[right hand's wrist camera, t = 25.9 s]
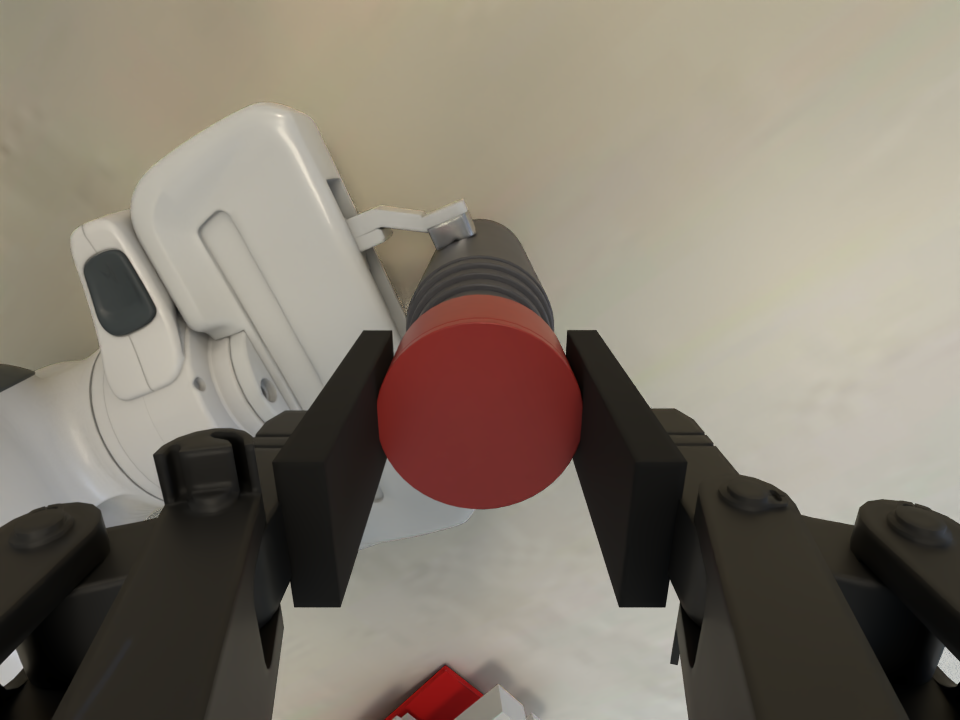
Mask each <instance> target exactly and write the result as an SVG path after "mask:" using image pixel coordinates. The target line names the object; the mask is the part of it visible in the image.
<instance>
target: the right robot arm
mask: <svg viewBox="0 0 960 720" xmlns="http://www.w3.org/2000/svg"><path fill="white" fill-rule="evenodd" d="M393 357H394V350H393V333H392V330H363V331H362V333H361V334H360V336H359V337H358V339H357V340H356V342H355V343H354V344H353V346H352V347H351V349H350V350H349V352H348V353H347V355H346V356H345V357H344V359H343V360H342V362H341V363H340V365H339V366H338V368H337V369H336V370H335V372H334V373H333V375H332V376H331V378H330V379H329V380H328V382H327V383H326V385H325V386H324V388H323V389H322V391H321V392H320V393H319V395H318V396H317V398H316V399H315V401H314V402H313V404H312V405H311V406H310V408H309V409H308V410H285V411H283V412H281V413H280V414H278V415H276V416H275V417H273V418H271V419H270V420H268V421H266V422H265V423H264V425H263V426H262V427H261V428H260V430H259V431H258V432H257V433H256V434H255V437H253V436H251V435H250V434H249V433H247V432H246V431H244V430H239V429H234V428H213V429H207V430H202V431H196V432H193V433H190V434H187V435H184V436H181V437H178V438H176V439H174V440H172V441H170V442H168V443H166V444H164V445H163V446H161V447H160V448H159V449H158V450H157V451H156V452H155V453H154V454H153V458H154V462H155V466H156V471H157V475H158V479H159V483H160V487H161V491H162V495H163V500H164V504H165V505H164V507H163V509H162V511H161V513H160V515H159V517H158V518H154V519H150V520H145V521H140V522H135V523H129V524H124V525H119V526H114V527H108V528H106V527H105V523H104V520H103V516H102V513H101V510H100V509H99V508H97V507H96V506H95V505H93V504H89V503H82V502H72V503H62V504H61V503H57V504H52V505H48V507H45V506H44V507H40V508H37V509H34V510H32V511H30V512H29V513H27V514H25V515H22V516H20V517H17V518H15V519H13V520H11V521H10V522H8V523H6V524H5V525H3V526H1V527H0V665H1V664H2V663H3V662H4V661H5V660H6V659H7V658H8V657H9V656H10V655H11V654H12V652H13V651H14V650H15V649H16V651H17V654H18V656H19V659H20V661H21V664H22V666H23V669H22V670H21V671H20V672H19V673H18V674H17V675H16V677H15V678H14V679H13V680H11V681H10V682H9V683H7V684H6V685H5V686H4V687H3V686H2V685H1V684H0V720H272V713H273V705H274V698H275V690H276V683H277V675H278V667H279V660H280V652H281V645H282V637H283V630H284V625H283V618H282V612H281V606H280V602H281V600H282V598H283V596H284V593H285V591H286V589H287V587H288V585H289V582H290V583H291V589H292V596H293V602H294V607H341V604H342V601H343V598H344V595H345V591H346V588H347V585H348V582H349V579H350V575H351V572H352V569H353V566H354V563H355V559H356V556H357V553H358V550H359V547H360V543H361V540H362V537H363V534H364V531H365V527H366V524H367V521H368V518H369V515H370V511H371V508H372V505H373V502H374V499H375V495H376V492H377V489H378V486H379V483H380V479H381V476H382V473H383V470H384V467H385V463H386V460H387V456H386V455H385V453H384V451H383V448H382V446H381V443H380V440H379V427H378V414H377V399H378V394H379V390H380V387H381V385H382V382H383V380H384V378H385V375H386V373H387V371H388V368H389V366H390V364H391V362H392V360H393ZM566 358H567V360H568V362H569V364H570V367H571V369H572V371H573V373H574V376H575V378H576V380H577V383H578V386H579V388H580V391H581V395H582V400H583V409H582V423H581V436H580V442H579V445H578V447H577V450H576V452H575V454H574V456H573V461H574V464H575V468H576V471H577V474H578V477H579V480H580V484H581V487H582V490H583V493H584V496H585V500H586V503H587V506H588V509H589V512H590V516H591V519H592V522H593V525H594V528H595V532H596V535H597V538H598V541H599V545H600V548H601V551H602V554H603V557H604V561H605V564H606V567H607V570H608V573H609V577H610V580H611V583H612V586H613V589H614V593H615V596H616V599H617V602H618V605H619V607H666V600H667V594H668V587H669V581H670V580H671V583H672V585H673V587H674V589H675V591H676V594H677V596H678V598H679V600H680V606H679V612H678V618H677V624H676V630H675V636H674V642H673V648H672V654H671V662H670V664H675V665H678V660H679V655H680V659H681V666H682V674H683V681H684V689H685V696H686V704H687V711H688V719H689V720H960V682H959V683H958V684H955V683H954V682H953V681H952V680H951V679H950V678H948V677H947V676H946V675H945V674H944V673H943V671H942V670H941V669H940V668H939V667H938V666H937V665H938V662H939V660H940V657H941V655H942V652H943V650H944V647H946V648H947V649H948V650H949V651H950V652H951V653H952V654H953V655H954V656H955V657H956V658H957V659H958V660H959V661H960V524H959V523H957V522H955V521H954V520H952V519H950V518H949V517H947V516H945V515H942V514H940V513H938V512H935V511H933V510H931V509H930V508H928V507H926V506H922V505H919V504H916V503H915V504H913V503H912V502H907V501H894V500H884V499H881V500H874V501H868V502H866V503H865V504H864V505H862V506H861V507H860V508H859V511H858V515H857V518H856V522H855V525H849V524H844V523H838V522H833V521H828V520H822V519H817V518H812V517H808V516H804V515H801V514H800V512H799V510H798V508H797V506H796V504H795V503H794V502H793V501H792V500H791V498H790V497H789V496H788V495H787V494H786V493H784V492H783V491H781V490H780V489H778V488H777V487H775V486H773V485H772V484H769V483H767V482H764V481H761V480H759V479H756V478H753V477H748V476H743V475H739V473H738V472H737V471H736V470H735V469H734V467H733V466H732V465H731V464H730V463H729V461H728V460H727V459H726V458H725V457H724V455H723V454H722V453H721V452H720V451H719V449H718V448H717V447H716V446H714V445H713V442H712V441H711V440H710V439H709V437H708V436H707V435H705V434H704V431H703V430H702V429H701V428H700V427H699V425H698V424H697V423H696V422H695V421H694V419H692V418H690V417H688V416H687V415H685V414H683V413H682V412H680V411H678V410H676V409H651V408H650V407H649V406H648V404H647V403H646V401H645V400H644V398H643V397H642V395H641V394H640V393H639V391H638V390H637V388H636V387H635V385H634V384H633V382H632V381H631V380H630V378H629V377H628V375H627V374H626V372H625V371H624V369H623V368H622V367H621V365H620V364H619V362H618V361H617V359H616V358H615V356H614V355H613V354H612V352H611V351H610V349H609V348H608V346H607V345H606V343H605V342H604V341H603V339H602V338H601V336H600V335H599V333H598V332H597V330H567V345H566Z"/></svg>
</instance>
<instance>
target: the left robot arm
mask: <svg viewBox="0 0 960 720" xmlns="http://www.w3.org/2000/svg"><path fill="white" fill-rule="evenodd" d="M391 228H393V229H401V230H409V231H417V232H425V233H428V232H429V234H430V236H431V238H432V241H433V243H434V245H435V247H436V249H437V250H440V249H442V248H444V247H447V246H449V245H450V244H452V243H453V241H454V240H455V239H457V240H462V239H466V238H468V237H471V236H473V235H474V234H476V228H475V226H474V223H473V221H472V218H471V215H470V213H469V210H468V208H467V205H466V203H465V200H464V198H463V199H460V200H457V201H455V202H453V203H450V204H448V205H446V206H443V207H441V208H439V209H436V210H434V211H432V212H429V213H427V214H426V212H425V211H421V210H414V209H406V208H399V207H392V206H385V205H380V206H377V207H375V208H373V209H370V210H368V211H366V212H363V213H361V214H358V212H357V210H356V208H355V206H354V203H353V201H352V199H351V197H350V195H349V193H348V191H347V189H346V187H345V184H344V182H343V180H342V178H341V176H340V174H339V172H338V170H337V167H336V165H335V163H334V161H333V159H332V157H331V155H330V153H329V151H328V148H327V146H326V144H325V142H324V140H323V138H322V136H321V133H320V131H319V129H318V127H317V125H316V123H315V121H314V120H313V119H312V118H311V117H310V116H309V115H307V114H305V113H303V112H300V111H298V110H296V109H294V108H291V107H289V106H286V105H283V104H279V103H274V102H259V103H254V104H251V105H248V106H246V107H244V108H242V109H240V110H238V111H236V112H234V113H232V114H230V115H228V116H226V117H225V118H223V119H221V120H219V121H217V122H216V123H214V124H212V125H211V126H209V127H207V128H206V129H204V130H202V131H201V132H199V133H197V134H196V135H194V136H193V137H191V138H190V139H188V140H187V141H185V142H184V143H182V144H181V145H179V146H178V147H176V148H175V149H174V150H172V151H171V152H170V153H168V154H167V155H165V156H164V157H163V158H161V159H160V160H159V161H157V162H156V163H155V164H154V165H153V166H152V167H150V168H149V169H148V170H147V171H146V173H145V174H144V175H143V176H142V177H141V179H140V180H139V182H138V183H137V185H136V187H135V189H134V192H133V194H132V198H131V205H130V209H125V210H122V211H118V212H114V213H111V214H108V215H105V216H102V217H99V218H97V219H94V220H92V221H89V222H87V223H85V224H83V225H81V226H79V227H78V228H76V229H75V230H74V231H73V233H72V234H71V237H70V249H71V253H72V257H73V260H74V263H75V266H76V269H77V272H78V275H79V278H80V281H81V284H82V287H83V290H84V293H85V296H86V299H87V302H88V306H89V309H90V312H91V315H92V319H93V323H94V326H95V330H96V334H97V338H98V342H99V347H100V348H99V349H98V350H97V351H95V352H94V353H93V354H92V355H90V356H89V357H88V358H86V359H83V360H74V361H66V362H60V363H55V364H52V365H48V366H45V367H43V368H40V369H38V370H35V371H31V370H28V369H25V368H21V367H17V366H12V365H6V364H0V527H1V526H3V525H5V524H6V523H8V522H10V521H11V520H13V519H15V518H17V517H20V516H22V515H25V514H27V513H29V512H30V511H32V510H34V509H37V508H40V507H44V506H45V507H48V505H52V504H57V503H61V504H62V503H72V502H82V503H89V504H93V505H95V506H96V507H97V508H99V509H100V510H101V513H102V516H103V520H104V523H105V527H106V528H108V527H114V526H119V525H124V524H129V523H135V522H140V521H144V520H145V519H147V518H148V517H149V516H151V515H152V514H153V513H154V512H156V511H157V510H160V509H163V507H164V505H165V504H164V500H163V495H162V491H161V487H160V483H159V479H158V475H157V471H156V466H155V462H154V458H153V454H154V453H155V452H156V451H157V450H158V449H159V448H160V447H161V446H163V445H164V444H166V443H168V442H170V441H172V440H174V439H176V438H178V437H181V436H184V435H187V434H190V433H193V432H196V431H202V430H207V429H213V428H234V429H239V430H244V431H246V432H247V433H249V434H250V435H251V436H253V437H255V434H256V433H257V432H258V431H259V430H260V428H261V427H262V426H263V425H264V423H265V422H266V421H268V420H270V419H271V418H273V417H275V416H276V415H278V414H280V413H281V412H283V411H285V410H308V409H309V408H310V406H311V405H312V404H313V402H314V401H315V399H316V398H317V396H318V395H319V393H320V392H321V391H322V389H323V388H324V386H325V385H326V383H327V382H328V380H329V379H330V378H331V376H332V375H333V373H334V372H335V370H336V369H337V368H338V366H339V365H340V363H341V362H342V360H343V359H344V357H345V356H346V355H347V353H348V352H349V350H350V349H351V347H352V346H353V344H354V343H355V342H356V340H357V339H358V337H359V336H360V334H361V333H362V331H363V330H392V333H393V350H394V355H395V353H396V351H397V348H398V346H399V344H400V342H401V340H402V338H403V336H404V335H405V333H406V317H407V316H406V314H405V312H404V309H403V307H402V305H401V303H400V301H399V299H398V297H397V295H396V292H395V290H394V288H393V286H392V284H391V282H390V280H389V278H388V276H387V273H386V271H385V269H384V267H383V265H382V263H381V261H380V259H379V256H378V254H377V252H376V250H375V248H374V246H376V245H378V244H381V243H383V242H385V241H386V240H387V239H388V238H389V237H390V236H392V233H393V232H392V229H391ZM474 511H475V509H467V508H459V507H455V506H451V505H447V504H444V503H441V502H439V501H436V500H434V499H432V498H430V497H428V496H426V495H424V494H422V493H421V492H419V491H418V490H416V489H415V488H413V487H412V486H411V485H410V484H408V483H407V482H406V481H405V480H404V479H403V478H402V477H401V476H400V475H399V474H398V473H397V472H396V470H395V469H394V468H393V466H392V465H391V463H390V462H389V460H388V458H387V460H386V463H385V467H384V470H383V473H382V476H381V479H380V483H379V486H378V489H377V492H376V495H375V499H374V502H373V505H372V508H371V511H370V515H369V518H368V521H367V524H366V527H365V531H364V534H363V537H362V540H361V543H360V547H359V550H361V549H364V548H367V547H370V546H373V545H376V544H379V543H383V542H389V541H395V540H401V539H406V538H411V537H416V536H420V535H425V534H429V533H433V532H437V531H441V530H445V529H448V528H452V527H455V526H458V525H461V524H463V523H465V522H466V521H467V520H468V519H469V518H470V517H471V515H472V514H473V512H474ZM22 669H23V666H22V664H21V661H20V659H19V656H18V654H17V651H16V649H15V650H14V651H13V652H12V654H11V655H10V656H9V657H8V658H7V659H6V660H5V661H4V662H3V663H2V664H1V665H0V684H1V685H2V686H3V687H4V686H5V685H6V684H7V683H9V682H10V681H11V680H13V679H14V678H15V677H16V675H17V674H18V673H19V672H20V671H21V670H22Z"/></svg>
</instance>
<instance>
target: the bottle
mask: <svg viewBox="0 0 960 720" xmlns="http://www.w3.org/2000/svg"><path fill="white" fill-rule="evenodd" d="M472 221H473V223H474V226H475V228H476V234H474V235H473V236H471V237H468V238H466V239H462V240H457V239H455V240H454V241H453V243H452V244H450V245H449V246H447V247H444V248H442V249H440V250H437V249H436V251H435V253H434V255H433V257H432V259H431V261H430V263H429V265H428V267H427V269H426V271H425V273H424V275H423V277H422V279H421V281H420V283H419V285H418V287H417V289H416V291H415V293H414V295H413V297H412V299H411V301H410V304H409V308H408V311H407V317H406V332H407V330H408V329H409V328H410V326H411V325H412V324H413V323H414V322H415V321H416V320H417V319H418V318H419V317H420V316H421V315H422V314H424V313H425V312H427V311H428V310H429V309H431V308H433V307H434V306H436V305H438V304H440V303H442V302H445V301H447V300H450V299H453V298H457V297H461V296H467V295H492V296H499V297H503V298H506V299H510V300H513V301H515V302H517V303H520V304H522V305H524V306H525V307H527V308H529V309H530V310H532V311H533V312H535V313H536V314H537V315H538V316H540V317H541V318H542V319H543V320H544V321H545V322H546V323H547V324H548V325H549V327H550V328H551V329H552V331H553V332H554V318H553V312H552V308H551V305H550V302H549V300H548V297H547V295H546V293H545V291H544V289H543V287H542V285H541V283H540V281H539V279H538V277H537V275H536V273H535V271H534V269H533V267H532V265H531V263H530V261H529V259H528V257H527V255H526V253H525V251H524V249H523V247H522V245H521V243H520V242H519V240H518V239H517V237H516V236H515V235H514V234H513V233H512V232H511V231H510V230H509V229H508V228H506V227H505V226H503V225H501V224H499V223H497V222H494V221H491V220H485V219H475V220H472Z"/></svg>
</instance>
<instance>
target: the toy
mask: <svg viewBox="0 0 960 720" xmlns="http://www.w3.org/2000/svg"><path fill="white" fill-rule="evenodd" d="M385 720H540V719H539V718H538V717H537V716H536V715H534V714H533V713H531V714H529V715H528V716H527V717H526V716H525V711H524V707H523V704H521V703H520V702H519V701H518V700H517V699H515V698H514V697H513V696H512V695H511V694H510V693H508V692H507V691H506V690H505V689H504V688H503V687H501V686H500V685H499V684H497V685H496V686H495V687H494V688H492V689H491V690H490V691H489V692H487V693H486V694H485V695H483V694H482V693H480V692H479V691H478V690H477V689H475V688H474V687H473V686H472V685H470V684H469V683H468V682H467V681H465V680H464V679H463V678H461V677H460V676H459V675H458V674H456V673H455V672H454V671H453V670H451V669H450V668H449V667H447V666H446V665H445V666H444V667H443V668H441V669H440V670H439V671H438V672H437V673H436V674H435V675H434V676H433V677H431V678H430V679H429V680H428V681H427V682H426V683H425V684H424V685H422V686H421V687H420V688H419V689H418V690H417V691H416V692H415V693H414V694H412V695H411V696H410V697H409V698H408V699H407V700H406V701H405V702H404V703H402V704H401V705H400V706H399V707H398V708H397V709H396V710H395V711H393V712H392V713H391V714H390V715H389V716H388V717H387V718H386V719H385Z"/></svg>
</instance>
